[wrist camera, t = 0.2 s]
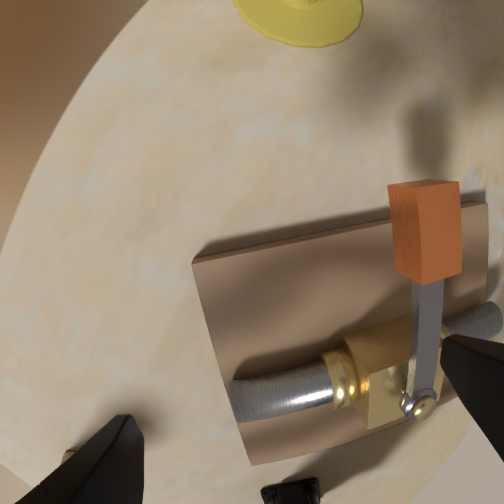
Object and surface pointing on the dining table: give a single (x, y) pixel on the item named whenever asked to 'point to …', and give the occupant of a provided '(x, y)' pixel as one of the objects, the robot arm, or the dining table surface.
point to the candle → (303, 20)
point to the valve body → (355, 372)
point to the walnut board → (319, 316)
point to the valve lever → (425, 275)
